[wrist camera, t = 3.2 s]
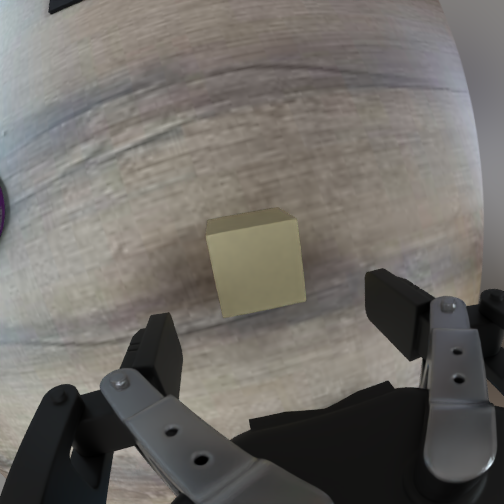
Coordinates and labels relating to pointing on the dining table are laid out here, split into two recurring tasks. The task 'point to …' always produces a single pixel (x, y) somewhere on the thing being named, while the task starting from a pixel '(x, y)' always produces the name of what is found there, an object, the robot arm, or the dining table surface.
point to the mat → (60, 5)
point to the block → (256, 261)
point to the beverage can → (2, 211)
